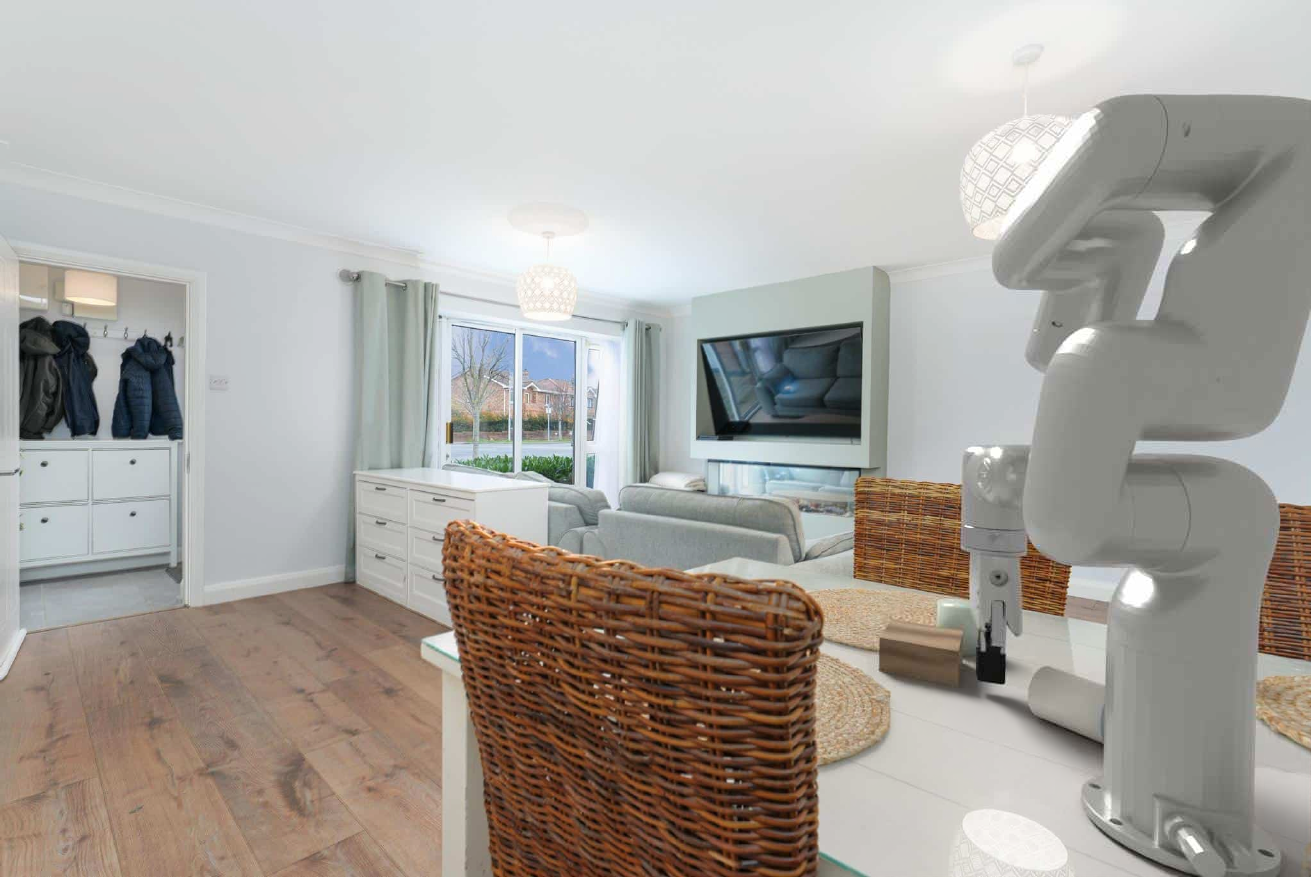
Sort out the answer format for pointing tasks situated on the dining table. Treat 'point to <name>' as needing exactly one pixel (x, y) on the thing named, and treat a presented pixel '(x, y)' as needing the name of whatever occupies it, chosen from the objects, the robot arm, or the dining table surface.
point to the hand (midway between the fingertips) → (990, 680)
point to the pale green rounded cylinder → (958, 622)
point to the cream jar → (1068, 701)
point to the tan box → (921, 652)
